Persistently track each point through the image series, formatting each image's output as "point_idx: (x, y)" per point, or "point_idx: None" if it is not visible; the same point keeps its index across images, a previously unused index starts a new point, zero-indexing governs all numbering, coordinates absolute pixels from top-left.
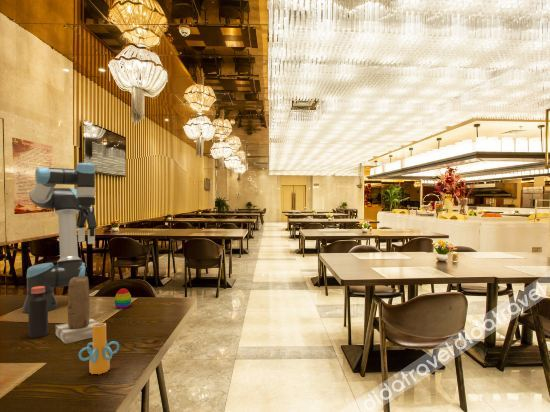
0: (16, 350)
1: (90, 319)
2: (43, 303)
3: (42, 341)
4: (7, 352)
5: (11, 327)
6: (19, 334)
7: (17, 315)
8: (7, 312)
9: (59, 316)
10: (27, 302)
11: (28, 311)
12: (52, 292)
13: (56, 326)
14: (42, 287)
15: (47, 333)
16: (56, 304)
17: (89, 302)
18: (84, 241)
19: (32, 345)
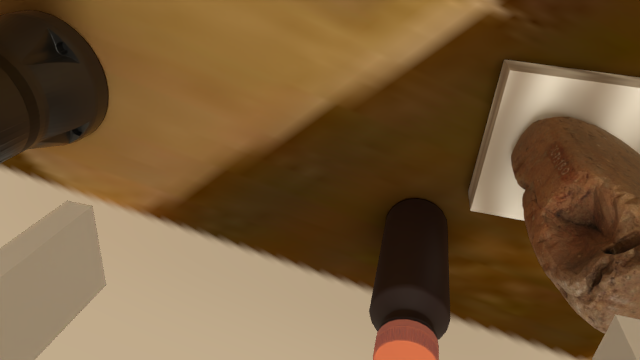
0: (508, 311)
1: (530, 83)
2: (449, 304)
3: (497, 242)
4: (501, 328)
5: (243, 232)
6: (348, 248)
7: (96, 165)
8: (32, 170)
9: (218, 74)
10: (46, 146)
11: (86, 135)
12: (6, 57)
13: (486, 213)
14: (429, 357)
15: (437, 207)
16: (57, 28)
17: (599, 146)
18: (91, 210)
19: (507, 273)
